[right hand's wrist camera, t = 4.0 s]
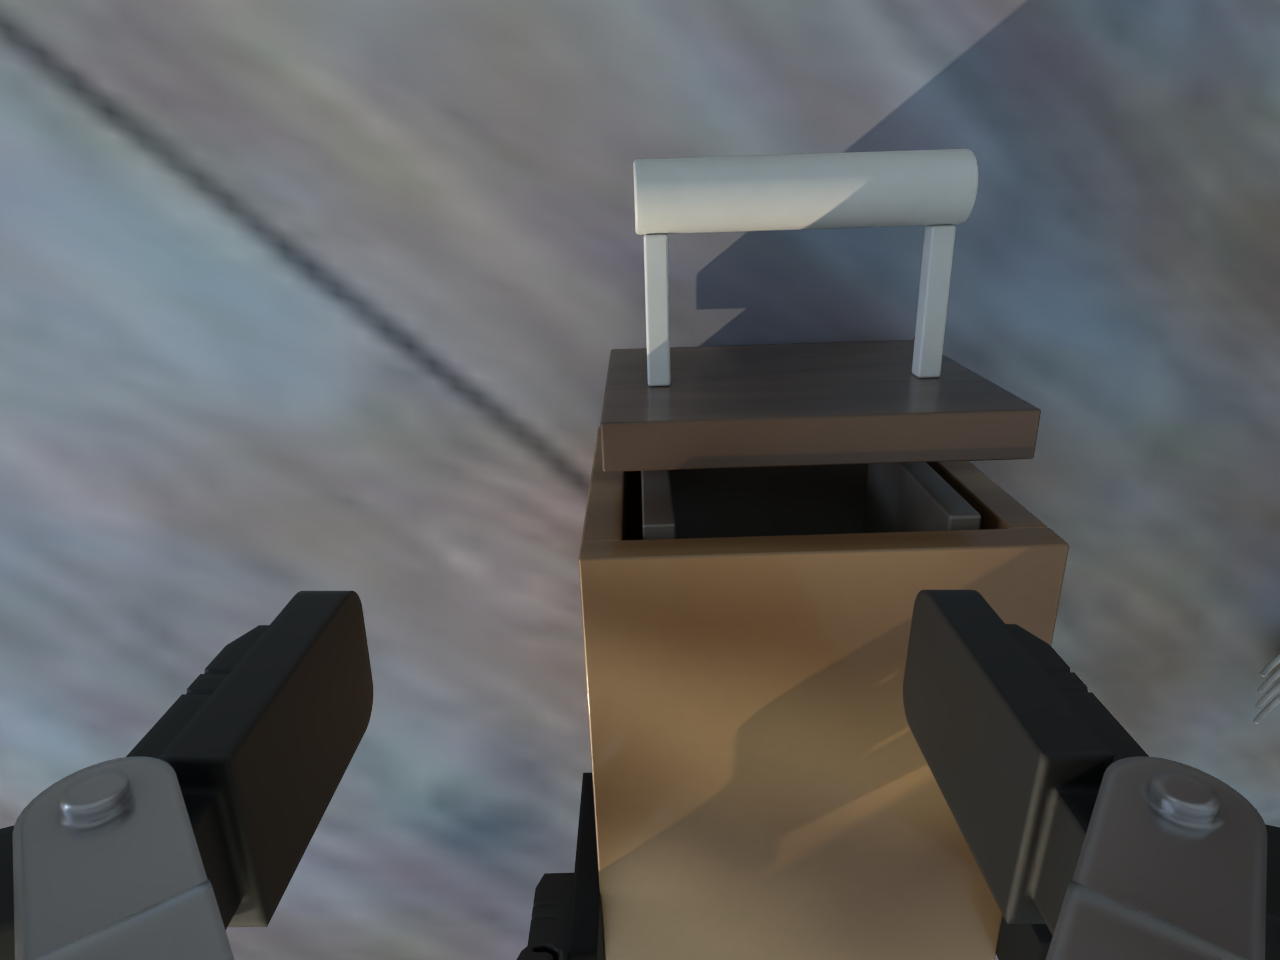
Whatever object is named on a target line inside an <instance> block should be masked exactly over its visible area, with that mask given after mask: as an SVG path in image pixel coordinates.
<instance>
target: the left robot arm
mask: <svg viewBox="0 0 1280 960" xmlns="http://www.w3.org/2000/svg"><path fill="white" fill-rule="evenodd" d="M1052 937H1053V935H1052V934H1051V932H1050V930H1049V928H1048V926H1047V925H1046V924H1007V923H1006V921H1005V919H1004V917H1003V916H1002V922H1001V928H1000V933H999V939H998V944H997V950H996V955H997V957H998V959H999V960H1046V957H1047V954H1048V951H1049V947H1050V944H1051V941H1052ZM517 960H604V945H603V930H602V914H601V899H600V887H599V871H598V856H597V840H596V825H595V809H594V794H593V778H592V773H583V782H582V793H581V805H580V816H579V827H578V839H577V850H576V862H575V873H549V874H544V876H543V877H542V879H541V880H540V882H539V884H538V885H537V887H536V890H535V897H534V907H533V912H532V920H531V926H530V933H529V940H528V946H527V947H526V948H525V949H524V950H522V951H521V953H520V955H519V956H518V958H517Z"/></svg>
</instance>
